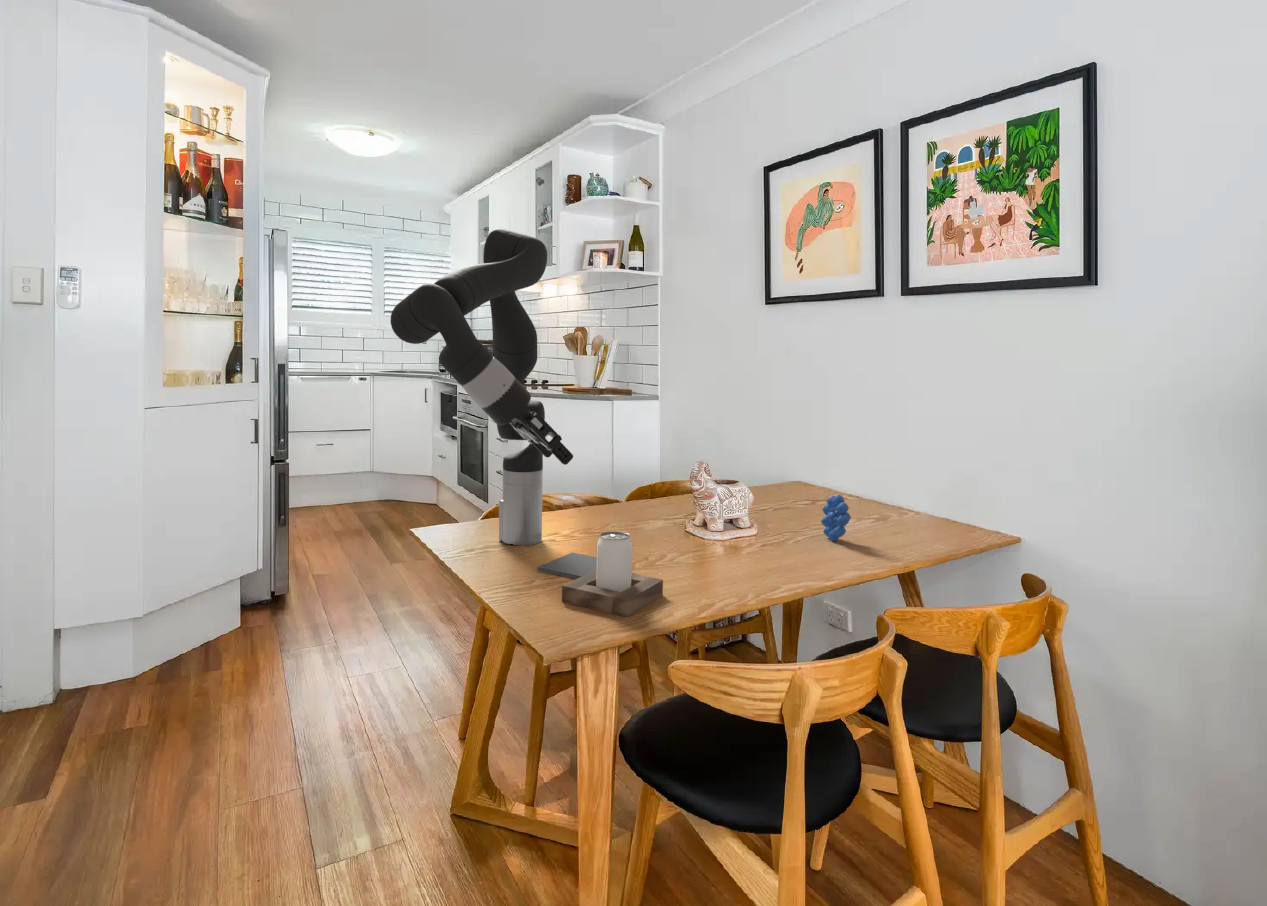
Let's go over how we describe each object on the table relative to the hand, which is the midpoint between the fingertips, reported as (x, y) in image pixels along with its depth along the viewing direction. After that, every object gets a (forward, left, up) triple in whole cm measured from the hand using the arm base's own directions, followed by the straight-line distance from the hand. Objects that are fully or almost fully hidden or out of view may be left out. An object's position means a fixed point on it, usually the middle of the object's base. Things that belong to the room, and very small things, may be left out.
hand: (559, 457), depth 125 cm
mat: (-9, +21, -27) cm, 35 cm away
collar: (+6, +9, -27) cm, 29 cm away
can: (+6, +9, -27) cm, 29 cm away
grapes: (+31, +77, -27) cm, 87 cm away
